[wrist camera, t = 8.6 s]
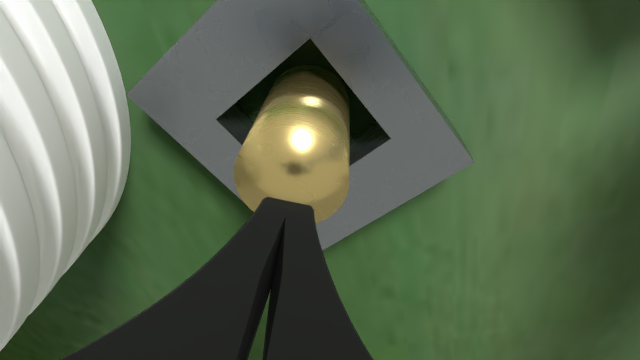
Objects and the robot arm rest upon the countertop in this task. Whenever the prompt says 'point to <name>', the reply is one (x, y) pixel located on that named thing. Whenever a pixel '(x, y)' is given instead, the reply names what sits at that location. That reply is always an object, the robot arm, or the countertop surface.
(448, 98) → the countertop surface
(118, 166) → the plate stack
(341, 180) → the cylinder
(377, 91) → the jig
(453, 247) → the countertop surface
